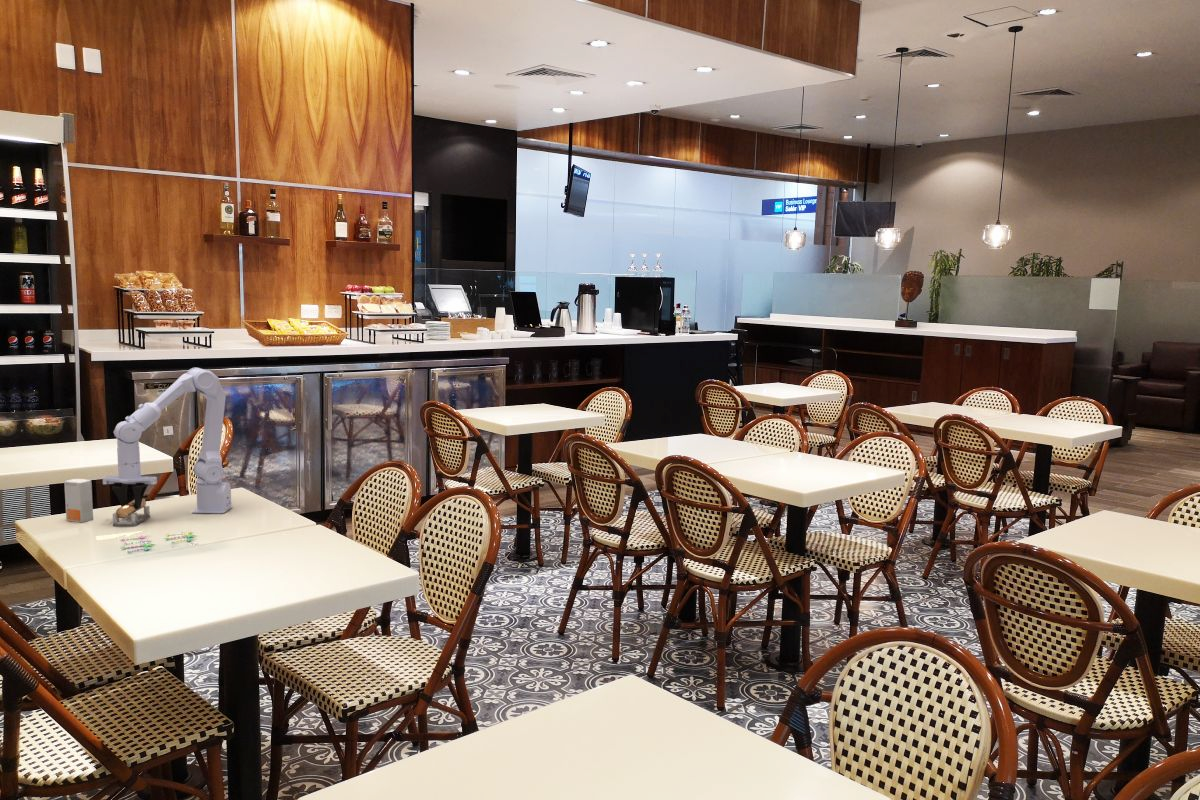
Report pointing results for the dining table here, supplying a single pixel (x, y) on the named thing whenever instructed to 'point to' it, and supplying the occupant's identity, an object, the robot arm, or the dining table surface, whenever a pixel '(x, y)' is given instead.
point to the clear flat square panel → (141, 538)
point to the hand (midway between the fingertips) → (131, 508)
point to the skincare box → (78, 500)
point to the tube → (128, 509)
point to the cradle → (132, 518)
